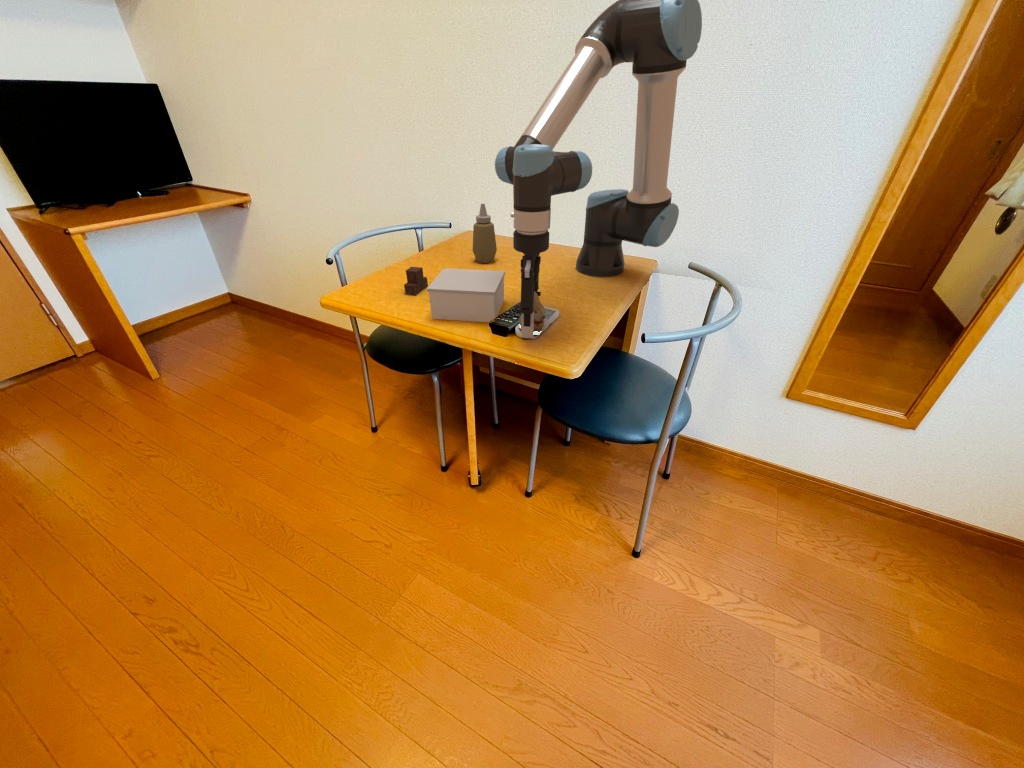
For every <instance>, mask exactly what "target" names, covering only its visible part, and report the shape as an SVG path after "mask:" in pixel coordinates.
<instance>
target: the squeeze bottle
mask: <svg viewBox="0 0 1024 768" xmlns="http://www.w3.org/2000/svg"><path fill="white" fill-rule="evenodd" d="M491 219H492V218H491V215H490V214H488V212H487V208H486V204H485V203H480V208H479V214H478V215H476V216H475V221H476V222H475V223H473V230H472V231H473V233H472V253H473V255H474V258H475V261H476V262H478V263H480V264H481V263H482V264H489V263H492V262H494V261H495V257H496V255H497V254H496V253H497V240H496V233H495V224H494V223H493V222H492V221H491ZM493 260H494V261H493Z"/></svg>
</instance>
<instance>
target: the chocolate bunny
mask: <svg viewBox="0 0 1024 768" xmlns="http://www.w3.org/2000/svg"><path fill="white" fill-rule="evenodd" d="M539 297H540V296H538V295H537V293H536V292H535V291H534V303H533V309H534V331H538V332H540V331H542V330H543V328H544V326H545V319H546V307H545V306H544V305H543V304H542V303H541V301H540V300H541V299H540V298H539ZM521 315H522V313H520V316H519V319H518V321H519V324H520V325H521ZM543 333H544V330H543V331H542V332H541V333H540V335H539V336H541V335H543Z"/></svg>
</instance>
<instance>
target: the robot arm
mask: <svg viewBox="0 0 1024 768" xmlns="http://www.w3.org/2000/svg"><path fill="white" fill-rule="evenodd" d="M700 4H701V3H700V2H699V0H616V1H615V2H613V3H612V4H611V5H609V6H608V7H607V8H606V9H605V10H603V12H601V13H600V14H599V15H598V16H597V17H596V19H594V21H593V22H592V23H591V24H590V25H589V26H588V28H587V29H586V30H585V31H584V33H583V34H582V36H581V37H580V39H579V41H578V42H577V43H576V45H575V49H574V56H573V57H572V59H571V60H570V62H569V63H568V65H567V67H565V69H564V70H563V72H562V74H561V75H560V77H559V79H557V82H555V84H554V85H553V87H552V89H551V90H550V92H549V93H548V94H547V96H546V98H545V100H544V101H543V102H542V104H541V105H540V107H539V108H538V110H537V111H536V113H535V114H534V116H533V118H532V119H531V120H530V122H529V123H528V125H527V127H525V130H524V131H523V132H522V134H521V136H520V137H519V138H518V140H517V142H515V145H514V146H512V145H511V146H505V147H503V148H501V149H500V150H499V151H498V153H497V154H496V157H495V161H494V171H495V173H496V176H497V178H498V179H499V180H500V181H502V182H503V183H506V184H510V185H512V186H513V187H512V189H513V190H512V191H513V192H512V193H513V194H512V195H513V212H511V213H510V217H511V218H514V219H513V228H514V231H513V233H512V235H513V237H512V239H513V240H512V241H513V242H512V243H513V245H512V246H513V249H514V250H515V251H516V252H517V253H518V252H519V253H522V254H523V255H522V258H521V259H520V280H521V281H520V282H521V283H520V285H521V287H520V308H519V309H518V310H517V312H518V313H520V316H521V330H520V333H521V334H520V336H521V339H522V338H523V339H524V338H525V339H534V336H533V332H534V309H533V303H534V291H535V292H536V293H537V295H538V297H541V295H542V291H539V289H540V288H539V280H540V279H539V276H540V275H539V274H540V268H541V267H540V266H541V260H542V256H540V254H541V253H544V252H547V251H548V249H549V247H550V232H549V229H550V228H551V213H552V212H551V211H552V209H551V207H552V206H551V204H552V202H551V201H552V196H556V195H561V194H567V193H575V192H576V191H579V190H581V189H584V188H585V187H587V186H588V185H589V183H590V182H591V179H592V176H593V164H592V161H591V159H590V157H589V155H588V154H586V153H585V152H583V151H576V150H570V151H554V149H555V147H556V145H557V144H558V142H559V141H561V140H560V139H561V138H562V137H563V135H564V133H565V132H566V130H567V129H568V127H569V126H570V125H571V123H572V122H573V120H574V118H575V117H576V115H577V114H578V113H579V111H580V110H581V109H582V106H583V105H584V104H585V101H586V100H587V99H588V97H589V95H591V93H592V91H593V90H594V88H595V87H596V86H597V84H598V82H599V80H600V79H604V78H605V77H607V76H608V75H609V73H610V72H611V71H612V69H613V68H614V67H616V66H617V65H621V64H623V63H632V66H631V67H632V69H631V70H632V71H631V74H632V76H633V77H634V78H635V79H636V81H637V82H638V84H637V85H638V86H637V104H636V119H635V126H636V127H635V142H634V144H635V145H634V162H633V179H632V181H633V182H632V188H631V190H627V189H623V188H622V189H620V188H619V189H618V188H617V189H616V188H615V189H606V190H599V191H594V192H591V193H590V194H589V195H588V197H587V200H586V206H585V221H584V222H585V223H584V231H583V232H584V234H583V243H582V246H581V249H580V251H579V254H578V255H577V258H576V262H575V263H576V264H575V269H576V271H578V272H579V273H581V274H583V275H586V276H593V277H603V278H604V277H605V278H606V277H614V276H618V275H621V274H623V272H624V271H625V263H626V262H625V258H624V257H625V256H624V252H623V247H622V244H623V241H624V242H629V243H632V244H637V245H641V246H643V247H647V246H648V247H651V248H658V247H661V246H663V245H664V244H665V243H666V242H667V241H668V240H669V239H670V237H671V235H672V234H673V232H674V230H675V228H676V226H677V222H678V219H679V214H680V213H679V212H680V210H679V206H678V204H676V203H674V202H672V197H673V196H672V195H673V193H672V190H670V189H669V188H668V187H667V186H668V177H669V166H670V155H671V148H672V147H671V146H672V140H673V139H672V138H673V127H674V117H675V109H676V108H675V107H676V97H677V87H678V79H679V76H681V74H682V73H683V72H684V71H685V70H686V67H687V62H688V61H687V60H689V59H691V58H692V57H693V56H694V55H695V53H696V51H697V50H698V47H699V45H698V44H699V43H700V41H701V35H702V30H703V29H702V25H703V18H702V8H701V5H700ZM521 314H522V315H521Z"/></svg>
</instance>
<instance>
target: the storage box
mask: <svg viewBox="0 0 1024 768" xmlns="http://www.w3.org/2000/svg"><path fill="white" fill-rule="evenodd" d="M505 275H506V270H489V269H488V270H486V269H465V268H464V269H463V268H447V267H446V268H443V269H441V271H440V272H439V274H438V275H437V276H436V277H435V278H434V279H433V280H432V282H431V283H430V284H429V285H428V287H427V288H426V292H427V293H428V297H429V304H430V305H429V306H430V312H431V319H433V320H447V321H461V322H463V321H464V322H476V323H477V322H478V323H479V322H481V323H491V322H490V321H491V320H493V319H495V318H496V317H497V318H498V316H499V313H500V311H501V310H502V306H503V304H504V301H505ZM497 315H498V316H497ZM497 318H496V319H497Z"/></svg>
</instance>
